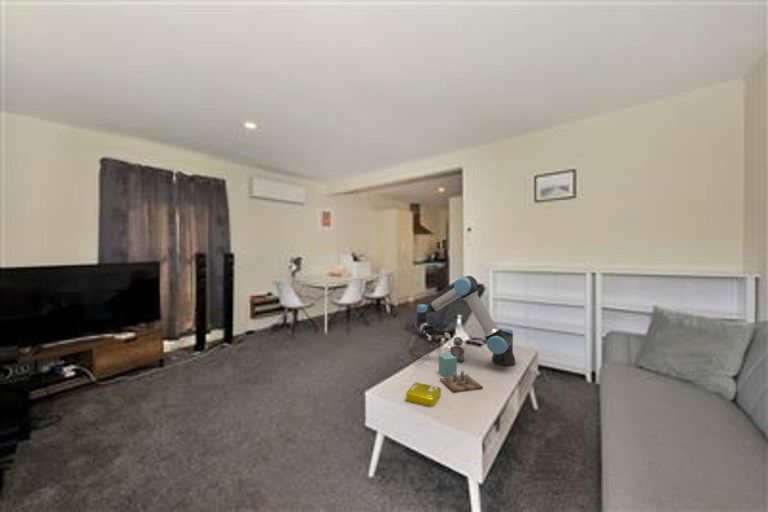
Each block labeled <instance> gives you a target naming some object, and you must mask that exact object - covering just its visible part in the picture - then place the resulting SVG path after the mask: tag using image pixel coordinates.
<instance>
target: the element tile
mask: <svg viewBox="0 0 768 512" xmlns="http://www.w3.org/2000/svg"><path fill="white" fill-rule="evenodd" d="M441 390H442V388H440V387H439V386H436V385H430V384H426V383H422V382H420V383H419V382H414V383H413V384H412V385H411V387H410V388H408V390H407V391H406V393H405V394H406V395H405V396H406V397H405V398H406V402H408V401H409V403H412V402H413V404H416V403H417V405H421V406H425V407H431V408H432V407H435V405H436V404H437V402H438V401H439V399H440V398H441V396H442V394H441V393H442V391H441Z"/></svg>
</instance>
